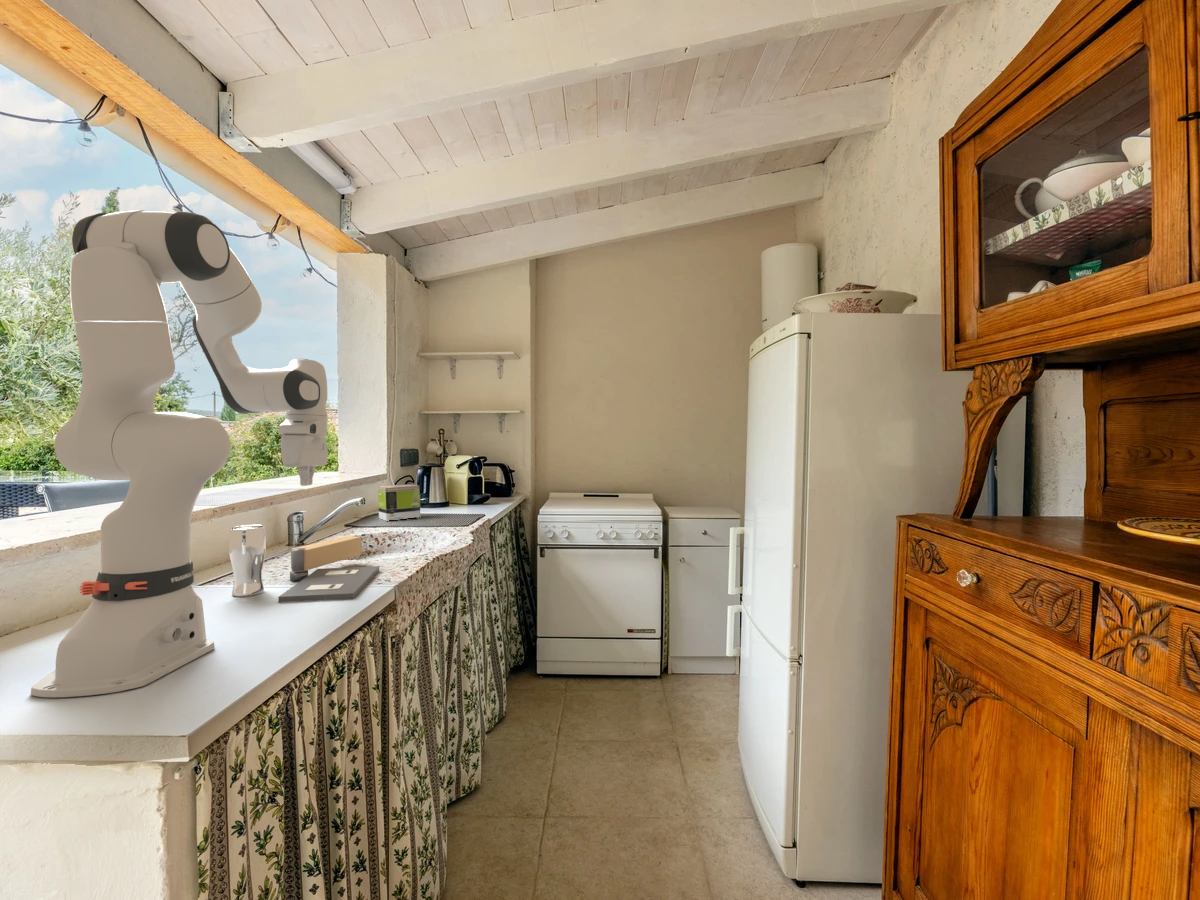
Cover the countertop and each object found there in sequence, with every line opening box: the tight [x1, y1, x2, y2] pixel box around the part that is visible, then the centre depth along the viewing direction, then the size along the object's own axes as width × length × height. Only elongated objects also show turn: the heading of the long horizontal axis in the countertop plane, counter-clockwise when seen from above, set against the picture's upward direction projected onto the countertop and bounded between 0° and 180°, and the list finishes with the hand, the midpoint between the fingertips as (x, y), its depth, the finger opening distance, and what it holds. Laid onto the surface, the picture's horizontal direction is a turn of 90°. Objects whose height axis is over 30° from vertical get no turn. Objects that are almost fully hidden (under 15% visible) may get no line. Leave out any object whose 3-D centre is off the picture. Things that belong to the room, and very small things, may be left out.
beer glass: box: [228, 524, 267, 598], centre depth 124 cm, size 7×7×15 cm
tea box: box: [377, 484, 421, 522], centre depth 241 cm, size 15×10×15 cm
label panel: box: [277, 565, 380, 603], centre depth 132 cm, size 26×15×2 cm, turn 10°
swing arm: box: [290, 535, 362, 571], centre depth 145 cm, size 5×21×5 cm, turn 163°
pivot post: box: [289, 570, 309, 583], centre depth 137 cm, size 4×4×2 cm
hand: (306, 485), depth 133 cm, fingers closed
